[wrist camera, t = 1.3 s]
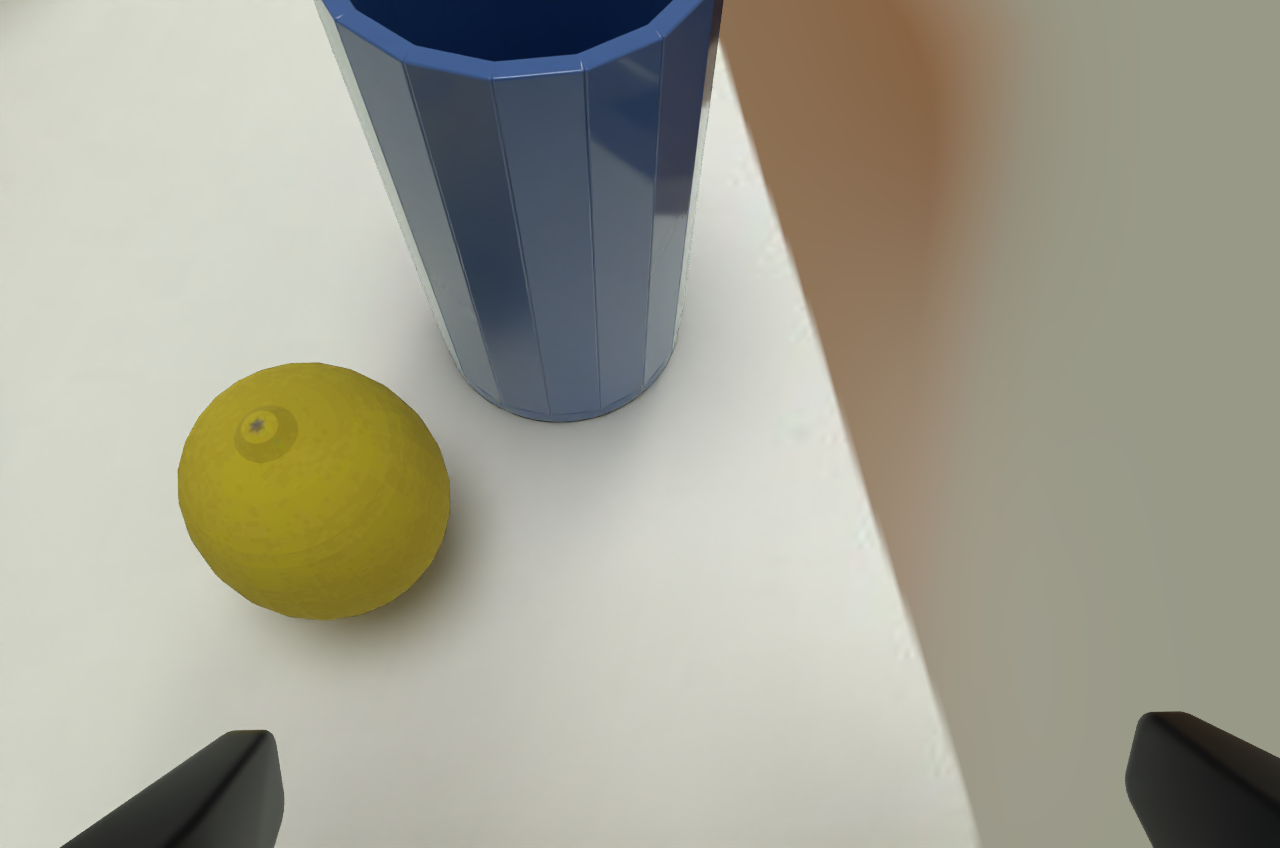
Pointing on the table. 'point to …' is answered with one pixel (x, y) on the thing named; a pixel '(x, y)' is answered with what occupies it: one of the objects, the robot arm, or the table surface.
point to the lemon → (314, 491)
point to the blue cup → (540, 179)
